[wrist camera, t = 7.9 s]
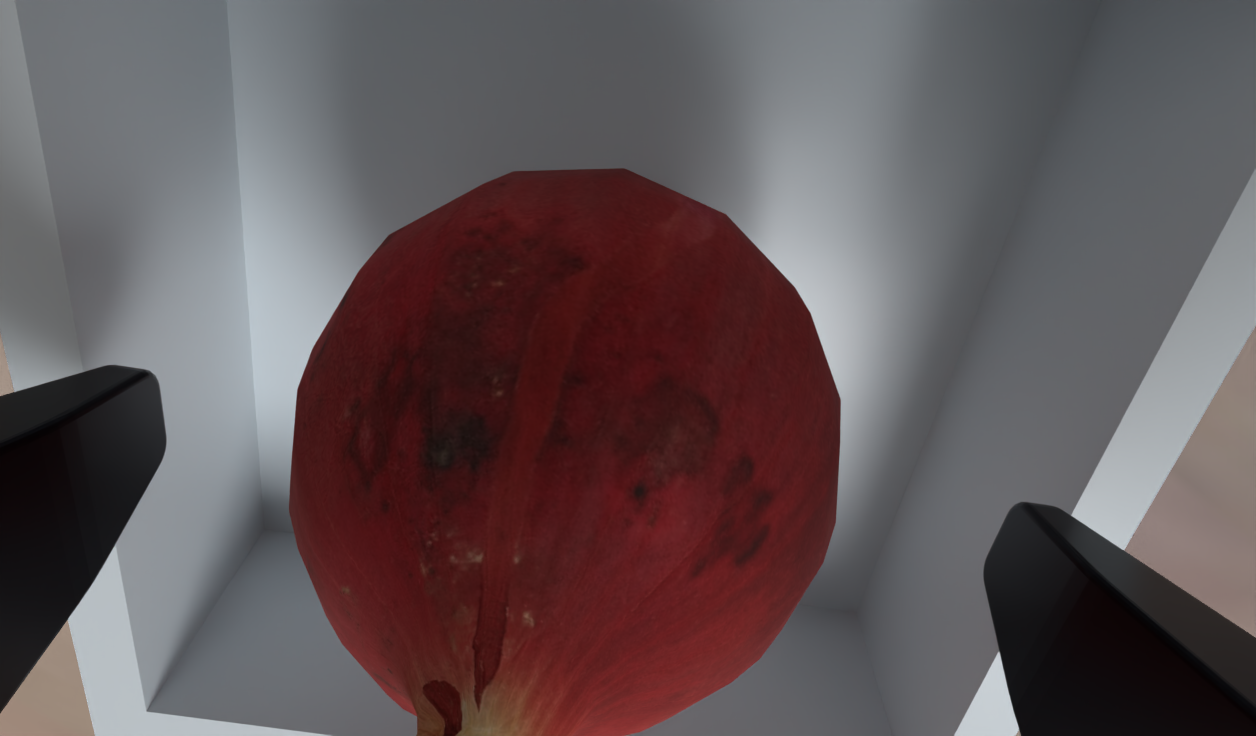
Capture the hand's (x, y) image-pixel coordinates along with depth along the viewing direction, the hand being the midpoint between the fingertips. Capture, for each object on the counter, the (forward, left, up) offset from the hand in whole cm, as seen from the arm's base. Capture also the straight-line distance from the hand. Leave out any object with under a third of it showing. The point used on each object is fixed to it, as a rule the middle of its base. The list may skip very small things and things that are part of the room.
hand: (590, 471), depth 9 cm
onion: (0, 0, -4) cm, 5 cm away
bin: (0, 0, -5) cm, 5 cm away
